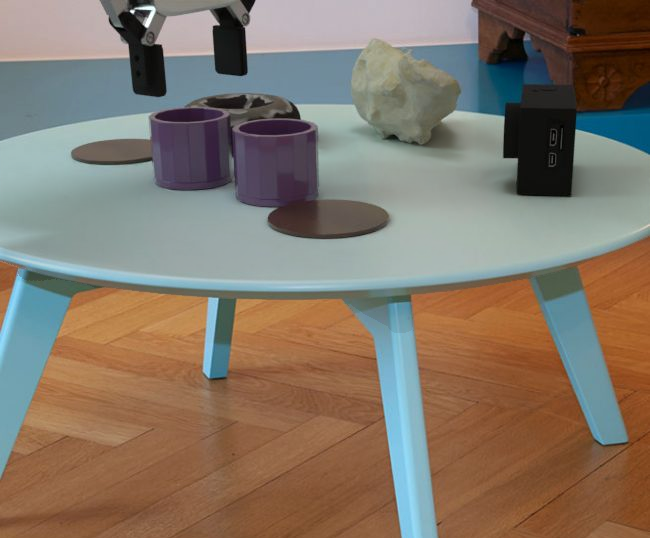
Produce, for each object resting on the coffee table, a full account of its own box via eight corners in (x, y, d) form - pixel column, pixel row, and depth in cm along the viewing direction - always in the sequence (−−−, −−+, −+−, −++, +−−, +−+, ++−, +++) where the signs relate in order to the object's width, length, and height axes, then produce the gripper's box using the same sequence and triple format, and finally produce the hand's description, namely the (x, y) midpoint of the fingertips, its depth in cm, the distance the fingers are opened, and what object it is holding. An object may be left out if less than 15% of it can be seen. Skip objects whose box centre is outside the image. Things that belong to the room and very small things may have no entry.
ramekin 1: (202, 193, 91) (198, 126, 89) (137, 184, 95) (132, 118, 92) (247, 175, 97) (244, 110, 95) (185, 166, 100) (181, 104, 98)
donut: (313, 152, 104) (312, 109, 102) (184, 161, 102) (181, 117, 100) (289, 126, 114) (288, 86, 113) (172, 134, 112) (170, 93, 111)
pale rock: (320, 95, 114) (366, 38, 114) (397, 162, 116) (443, 106, 116) (348, 87, 97) (403, 20, 96) (438, 166, 99) (493, 100, 98)
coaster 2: (352, 245, 78) (352, 241, 78) (244, 227, 83) (243, 223, 83) (409, 212, 86) (409, 208, 86) (307, 197, 90) (307, 194, 90)
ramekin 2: (290, 211, 86) (288, 139, 84) (219, 200, 90) (215, 131, 87) (333, 190, 92) (332, 122, 90) (265, 181, 95) (262, 115, 93)
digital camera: (505, 163, 99) (508, 82, 96) (568, 164, 98) (574, 83, 96) (501, 194, 90) (504, 106, 87) (571, 196, 89) (576, 107, 86)
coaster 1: (127, 168, 100) (127, 165, 99) (50, 157, 104) (50, 154, 104) (188, 147, 107) (188, 144, 107) (114, 138, 111) (114, 135, 111)
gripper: (214, -143, 95) (228, 64, 101) (53, -137, 82) (81, 99, 89) (284, -146, 90) (293, 71, 97) (126, -139, 78) (149, 109, 84)
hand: (192, 84), depth 93 cm, fingers open, 9 cm apart
